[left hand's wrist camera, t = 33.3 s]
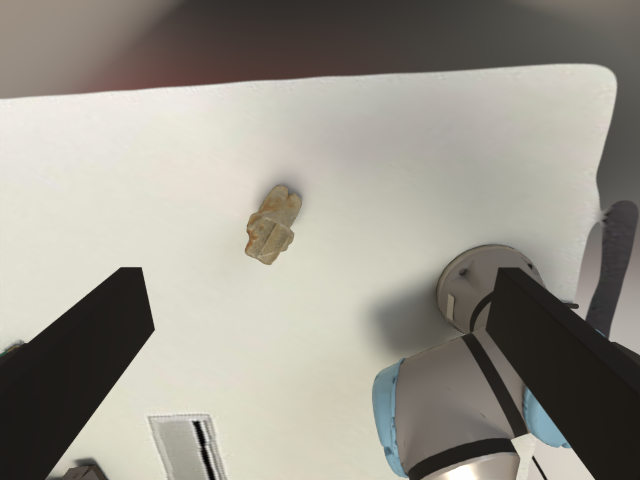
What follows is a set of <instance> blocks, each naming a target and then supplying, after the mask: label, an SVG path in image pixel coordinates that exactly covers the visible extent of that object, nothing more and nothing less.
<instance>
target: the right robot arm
mask: <svg viewBox="0 0 640 480" xmlns="http://www.w3.org/2000/svg"><path fill="white" fill-rule="evenodd" d="M532 460H533V461H534V463H535V465H536V466H537V468H538V470H539V472H540V473H541V475H542V477H543V479H544V480H548V479H547V477H546V476H545V474H544V472H543V470H542V469H541V467H540V465H539V464H538V462H537V460H536V459H535V457H534V456H532Z"/></svg>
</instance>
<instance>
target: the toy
mask: <svg viewBox="0 0 640 480" xmlns="http://www.w3.org/2000/svg"><path fill="white" fill-rule="evenodd" d="M62 480H106V479H105V477H104V476H103V474H102V473H101V471H100V470H99V468H98V467H97V465H93V466H83V467H77V468H70V469H69V470H68V471H67V473H66V474H65V475H64V477H63V478H62Z"/></svg>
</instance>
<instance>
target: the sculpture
mask: <svg viewBox="0 0 640 480" xmlns="http://www.w3.org/2000/svg"><path fill="white" fill-rule="evenodd" d="M301 205H302V201H301V199H300V198H299V197H298V196H297V195H296V194H294V193H293V194H291V195H289V194H288V189H287V188H286V187H284V186H281V185H278V186H276V187H275V188H273V189H272V191H271V192H270V193H269V195H268V196H267V198H266V199H265V200H264V202H263V204H262V205H261V207H260V209H259V211H258V213H254V214H252V215H251V216H250V219H249V222H248V224H247V233H248V234H249V241H248V243H247V246H246V248H245V253H246V254H247V255H248V256H250V257H252V258H256V259H258V260H259V261H260V262H262V263H263V264H266V265H271V264H272V263H273V262H274V261H275V260H276V258H277V257H278V255H279V254H280V252H282V251H286V250H287V248H288V245H289V244H291V243H292V241H293V238H294V233H293V232H292V231H291V230H290V227H291V225H292V224H293V222H294V220H295V218H296V216H297V214H298V212H299V210H300V207H301Z"/></svg>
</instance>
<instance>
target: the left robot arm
mask: <svg viewBox="0 0 640 480" xmlns="http://www.w3.org/2000/svg"><path fill="white" fill-rule="evenodd" d="M436 298H437V304H438V307H439V309H440V311H441V313H442V314H443V316H444V318H445V319H446V320H447V322H448V323H449V324H450V325H451V326H453V327H454V328H455V329H456V330H458V331H460V332H461V333H463V334H465V335H464V336H462V337H459V338H457V339H454V340H452V341H449V342H447V343H444V344H442V345H439V346H437V347H434V348H432V349H429V350H427V351H424V352H422V353H419V354H417V355H414V356H411V357H409V358H403V359H401V360H400V361H399V362H398V363H396V364H394V365H392V366H390V367H388V368H386V369H383V370H382V371H380V372H379V373H378V374H377V376H376V378H375V380H374V384H373V389H372V402H373V411H374V417H375V423H376V427H377V432H378V435H379V439H380V442H381V445H382V446H384V452H385V456H386V459H387V461H388V463H389V465H390V467H391V469H392V470H393V472H394V473H395V474H397V475H398V476H400V477H404V478H408V477H409V479H410V480H516V476H517V472H518V467H519V463H520V457H519V455H518V453H517V451H516V450H515V448H514V446H513V444H512V442H511V439H514V438H516V437H519V436H522V435H525V434H528V433H532V434H533V435H534V436H535V437H536V438H538V439H540V440H541V441H542V442H543V443H545V444H547V445H550V446H552V447H560V446H562V447H564V448H572V449H573V450H574V452H575V453H576V454H577V456H578V457H579V458H580V460H581V461H582V462H583V464H584V465H585V467H586V468H587V469H588V471H589V472H590V473H591V475H592V476H593V477H594V479H595V480H640V355H639V354H637V353H635V352H633V351H631V350H629V349H628V348H626V347H624V346H622V345H620V344H618V343H616V342H610V341H609V340H608V339H607V338H606V337H605V336H604V335H603V334H602V333H601V332H599V331H598V330H596V329H594V328H593V327H592V326H591V325H589V324H588V323H587V322H586V321H584V320H583V319H582V318H581V317H580V316H578V315H577V314H576V313H575V312H573V311H572V310H571V309H570V308H572V309H578V308H579V305H578V304H572V303H562V302H561V301H560V300H559V299H557V298H556V297H555V296H554V295H553V294H551V293H550V292H549V291H548V290H546V288H545V285H544V283H543V281H542V279H541V277H540V275H539V273H538V271H537V269H536V268H535V266H534V265H533V263H532V262H531V261H530V260H529V259H528V258H526V257H525V256H524V255H522V254H521V253H520V252H518V251H516V250H514V249H512V248H510V247H506V246H501V245H486V246H481V247H477V248H474V249H471V250H469V251H467V252H465V253H463V254H461V255H460V256H458V257H457V258H456V259H455V260H453V261H452V262H451V263H450V264H449V265H448V267H447V268H446V269H445V270H444V272H443V273H442V275H441V277H440V279H439V282H438V285H437V291H436ZM154 330H155V328H154V323H153V318H152V314H151V309H150V304H149V300H148V295H147V290H146V285H145V281H144V276H143V271H142V267H121V268H119V269H118V270H117V271H116V272H114V273H113V274H112V275H111V276H110V277H108V278H107V279H106V280H105V281H103V282H102V283H101V284H100V285H98V286H97V287H96V288H95V289H94V290H92V291H91V292H90V293H89V294H87V295H86V296H85V297H84V298H83V299H81V300H80V301H79V302H78V303H76V304H75V305H74V306H73V307H71V308H70V309H69V310H68V311H67V312H65V313H64V314H63V315H62V316H60V317H59V318H58V319H57V320H56V321H54V322H53V323H52V324H51V325H49V326H48V327H47V328H46V329H44V330H43V331H42V332H41V333H40V334H38V335H37V336H36V337H35V338H33V339H32V340H31V341H30V342H29V343H24V344H23V345H21V346H19V347H17V348H15V349H13V350H11V351H10V352H8V353H6V354H4V355H2V356H1V357H0V480H45V479H46V477H47V476H48V475H49V473H50V472H51V471H52V469H53V468H54V467H55V465H56V464H57V462H58V461H59V460H60V458H61V457H62V456H63V454H64V453H65V452H66V450H67V449H68V447H69V446H70V445H71V443H72V442H73V441H74V439H75V438H76V437H77V435H78V434H79V432H80V431H81V430H82V428H83V427H84V426H85V424H86V423H87V422H88V420H89V419H90V417H91V416H92V415H93V413H94V412H95V411H96V409H97V408H98V407H99V405H100V404H101V403H102V401H103V400H104V398H105V397H106V396H107V394H108V393H109V392H110V390H111V389H112V388H113V386H114V385H115V383H116V382H117V381H118V379H119V378H120V377H121V375H122V374H123V373H124V371H125V370H126V368H127V367H128V366H129V364H130V363H131V362H132V360H133V359H134V358H135V356H136V355H137V353H138V352H139V351H140V349H141V348H142V347H143V345H144V344H145V343H146V341H147V340H148V339H149V337H150V336H151V334H152V333H153V332H154Z"/></svg>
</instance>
